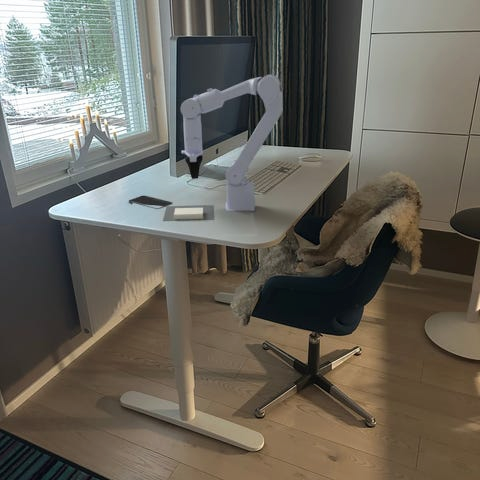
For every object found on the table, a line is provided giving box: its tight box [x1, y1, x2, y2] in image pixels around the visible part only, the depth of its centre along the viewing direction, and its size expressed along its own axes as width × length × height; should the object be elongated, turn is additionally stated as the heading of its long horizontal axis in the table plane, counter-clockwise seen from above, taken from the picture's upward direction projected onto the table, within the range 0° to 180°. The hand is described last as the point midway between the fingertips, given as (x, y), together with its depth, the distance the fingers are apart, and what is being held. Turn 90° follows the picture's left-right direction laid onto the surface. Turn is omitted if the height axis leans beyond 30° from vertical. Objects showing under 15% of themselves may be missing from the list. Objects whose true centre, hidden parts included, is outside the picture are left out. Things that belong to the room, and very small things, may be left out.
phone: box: [128, 195, 173, 210], centre depth 159 cm, size 8×1×15 cm
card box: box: [174, 208, 203, 219], centre depth 145 cm, size 9×2×6 cm
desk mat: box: [162, 204, 215, 222], centre depth 148 cm, size 16×14×1 cm
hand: (194, 178), depth 152 cm, fingers closed
